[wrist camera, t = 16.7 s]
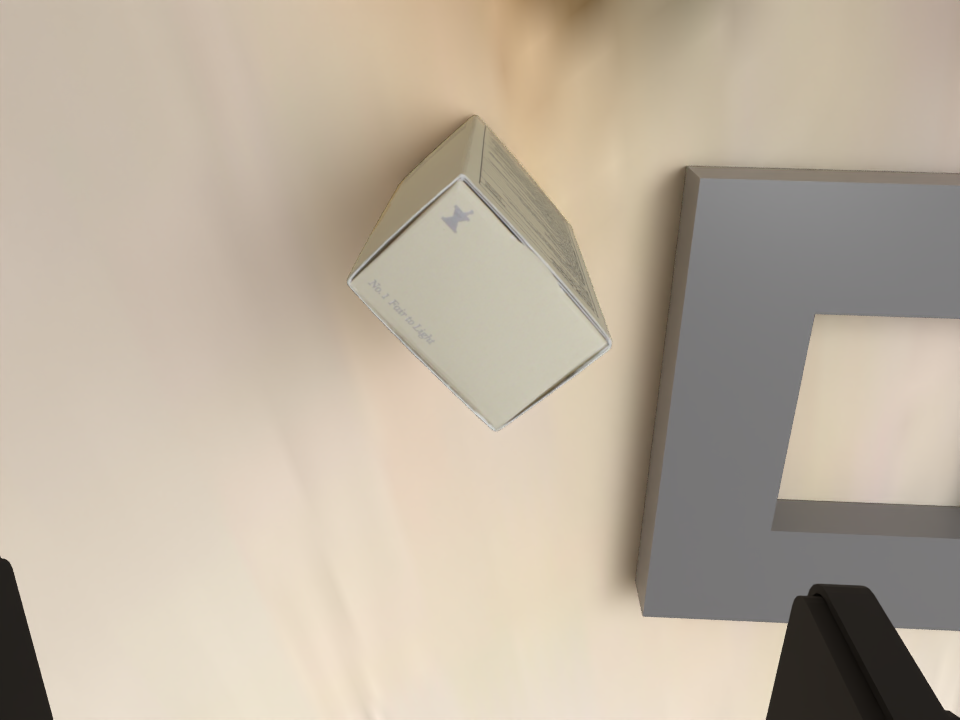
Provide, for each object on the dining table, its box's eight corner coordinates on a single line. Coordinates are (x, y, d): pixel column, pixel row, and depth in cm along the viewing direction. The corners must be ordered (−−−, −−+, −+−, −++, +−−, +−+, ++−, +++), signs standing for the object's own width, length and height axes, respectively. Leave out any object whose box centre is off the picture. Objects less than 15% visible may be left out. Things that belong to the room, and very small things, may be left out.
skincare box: (396, 184, 31) (330, 278, 20) (480, 107, 30) (457, 162, 19) (499, 298, 33) (491, 442, 22) (583, 230, 32) (618, 346, 21)
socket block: (686, 165, 31) (700, 178, 28) (1217, 181, 30) (1274, 194, 28) (635, 580, 39) (642, 616, 36) (1052, 599, 38) (1087, 636, 36)
